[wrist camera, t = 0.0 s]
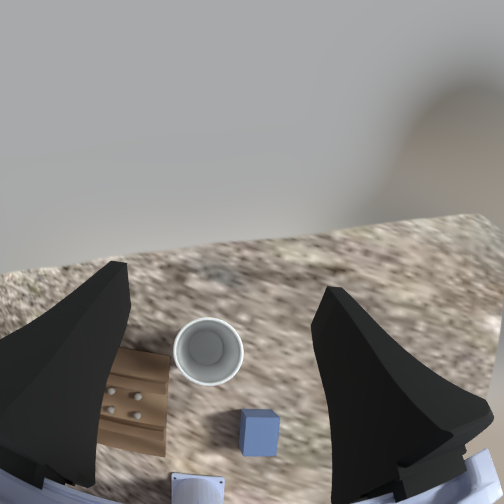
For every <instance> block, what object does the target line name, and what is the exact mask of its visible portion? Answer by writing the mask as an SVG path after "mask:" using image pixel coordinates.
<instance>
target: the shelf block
mask: <svg viewBox="0 0 504 504" xmlns="http://www.w3.org/2000/svg"><path fill="white" fill-rule="evenodd" d="M279 424H280V417H279V416H278V415H277V414H276V413H275V412H274V411H273V410H269V409H241V421H240V433H239V447H240V449H241V452H242V454H243V456H276V453H277V444H278V434H279Z"/></svg>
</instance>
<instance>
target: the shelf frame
mask: <svg viewBox="0 0 504 504" xmlns="http://www.w3.org/2000/svg"><path fill="white" fill-rule="evenodd" d="M169 368H170V356H169V355H162V354H155V353H149V352H143V351H137V350H131V349H126V348H121V347H119V348H118V351H117V354H116V357H115V359H114V362H113V365H112V368H111V371H110V374H109V377H108V380H107V383H106V387H105V391H104V396H103V401H102V406H101V412H100V419H99V426H98V434H97V443H99V444H103V445H107V446H111V447H115V448H119V449H123V450H128V451H133V452H138V453H143V454H148V455H154V456H160V457H165V452H166V418H167V398H168V382H169Z"/></svg>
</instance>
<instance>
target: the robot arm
mask: <svg viewBox="0 0 504 504" xmlns="http://www.w3.org/2000/svg"><path fill="white" fill-rule="evenodd" d="M130 309H131V301H130V292H129V282H128V271H127V263H124V262H117V261H110V262H109V263H107V264H106V265H105V266H104V267H102V268H101V269H100V270H99V271H98V272H96V273H95V274H94V275H93V276H92V277H90V278H89V279H88V280H87V281H85V282H84V283H83V284H82V285H81V286H79V287H78V288H77V289H76V290H75V291H73V292H72V293H71V294H69V295H68V296H67V297H65V298H64V299H63V300H62V301H60V302H59V303H58V304H56V305H55V306H54V307H52V308H51V309H50V310H48V311H47V312H45V313H44V314H43V315H41V316H40V317H38V318H36V319H35V320H33V321H32V322H30V323H29V324H27V325H25V326H24V327H22V328H20V329H18V330H16V331H15V332H13V333H11V334H9V335H8V336H6V337H4V338H2V339H0V504H123V503H119V502H115V501H111V500H107V499H104V498H100V497H97V496H93V495H90V494H87V493H84V492H81V491H78V490H75V489H72V488H70V487H67V486H65V483H67V484H70V485H72V486H75V484H77V485H79V486H82V487H86V488H89V487H91V486H93V485H94V484H95V460H96V445H97V434H98V426H99V419H100V412H101V406H102V401H103V396H104V391H105V387H106V383H107V380H108V377H109V374H110V371H111V368H112V365H113V362H114V359H115V357H116V354H117V351H118V348H119V346H120V343H121V340H122V338H123V335H124V332H125V329H126V325H127V321H128V317H129V313H130ZM311 332H312V341H313V348H314V352H315V356H316V360H317V364H318V368H319V372H320V376H321V380H322V384H323V387H324V391H325V395H326V400H327V405H328V411H329V420H330V429H331V442H332V491H331V503H332V504H493V503H494V502H495V501H497V500H498V499H499V498H500V497H501V496H502V495H503V492H502V489H501V485H500V482H499V479H498V476H497V473H496V470H495V467H494V464H493V461H492V459H491V456H490V453H489V451H488V449H487V448H485V449H484V450H482V451H480V452H478V453H476V454H475V455H473V456H471V457H470V458H467V459H466V460H464V459H463V456H462V455H464V454H465V453H466V451H467V450H466V448H465V444H466V443H468V442H469V441H470V440H472V439H473V438H475V437H476V436H477V435H478V434H480V433H481V432H482V431H483V430H485V429H486V428H487V427H488V426H489V425H490V424H491V423H492V422H493V420H494V415H493V413H492V411H491V409H490V407H489V405H488V403H487V401H486V400H485V399H483V398H481V397H478V396H476V395H474V394H472V393H470V392H467V391H465V390H463V389H461V388H460V387H458V386H456V385H454V384H452V383H451V382H449V381H447V380H446V379H444V378H442V377H441V376H439V375H438V374H436V373H435V372H433V371H432V370H430V369H429V368H428V367H426V366H425V365H423V364H422V363H421V362H419V361H418V360H417V359H416V358H414V357H413V356H412V355H411V354H410V353H408V352H407V351H406V350H405V349H404V348H402V347H401V346H400V345H399V344H398V343H397V342H396V341H395V340H394V339H393V338H392V337H391V336H390V335H388V334H387V333H386V332H385V331H384V330H383V329H382V328H381V327H380V326H379V325H378V324H377V323H376V322H375V321H374V320H373V318H372V317H371V316H370V315H369V314H368V313H367V312H366V311H365V310H364V309H363V308H362V307H361V306H360V305H359V304H358V303H357V302H356V301H355V300H354V299H353V298H352V297H351V296H350V295H349V294H348V293H347V292H346V291H345V290H344V289H343V288H341V287H330V286H327V288H326V290H325V293H324V295H323V298H322V300H321V302H320V305H319V307H318V310H317V312H316V314H315V317H314V319H313V321H312V324H311ZM173 477H176V479H174V478H173ZM220 481H222V483H220ZM224 483H225V479H224V477H220V476H204V475H192V474H183V473H172V504H223V498H224Z"/></svg>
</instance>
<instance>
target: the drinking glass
mask: <svg viewBox="0 0 504 504" xmlns="http://www.w3.org/2000/svg"><path fill="white" fill-rule="evenodd" d="M173 356H174V360H175V363H176V366H177V367H178V369H179V371H180V372H181V373H182V374H183V375H184V376H185V377H186V378H187V379H188V380H190V381H192V382H194V383H196V384H199V385H203V386H215V385H219V384H222V383H224V382H226V381H228V380H230V379H231V378H232V377H233V376H234V375H235V374H236V373H237V371H238V370H239V368H240V366H241V364H242V361H243V344H242V341H241V339H240V337H239V335H238V333H237V332H236V331H235V329H234V328H233V327H232V326H230V325H229V324H228V323H226V322H224V321H222V320H220V319H217V318H211V317H203V318H198V319H195V320H193V321H191V322H189V323H187V324H186V325H185V326H184V327H183V328H182V329H181V330H180V331H179V333H178V334H177V336H176V338H175V341H174V345H173Z"/></svg>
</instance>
